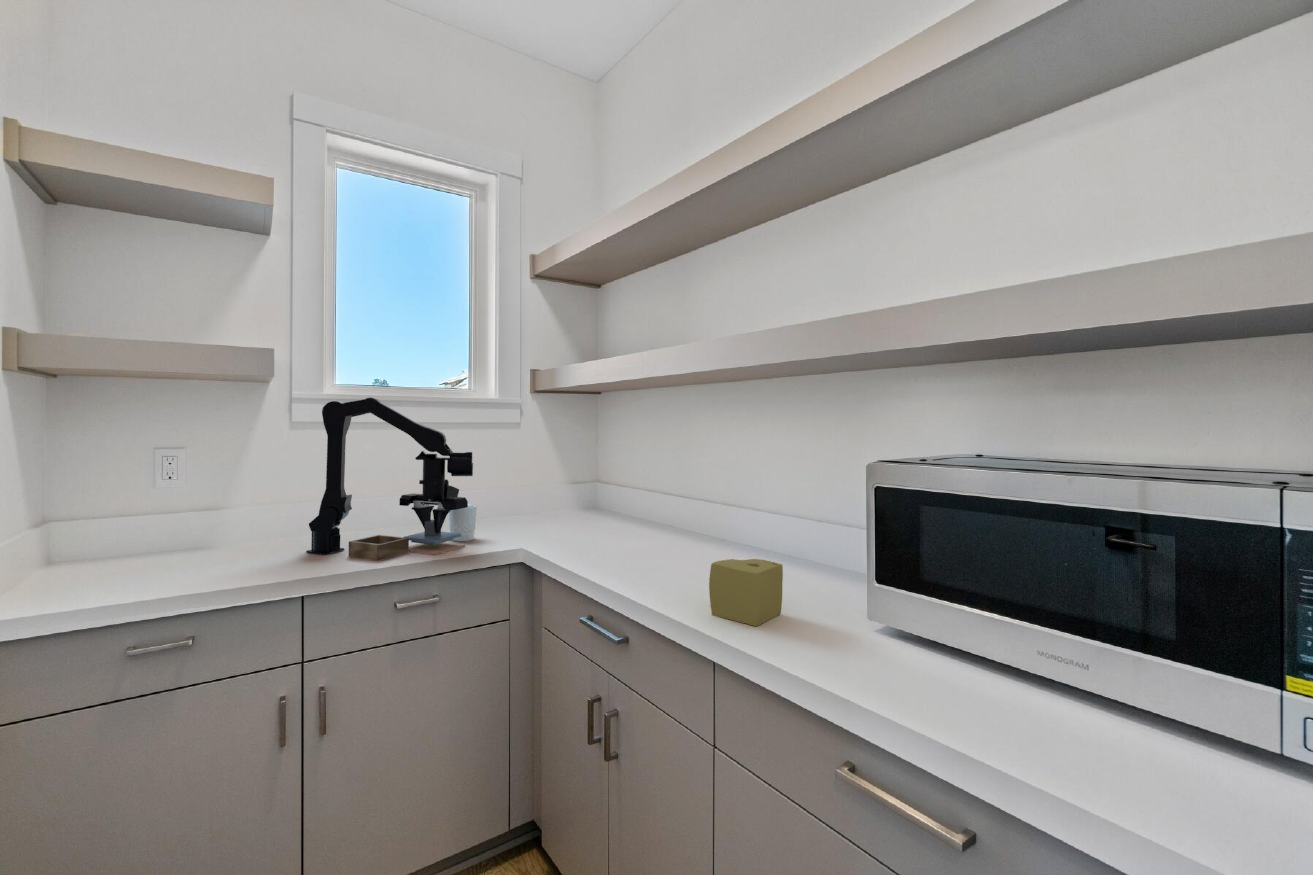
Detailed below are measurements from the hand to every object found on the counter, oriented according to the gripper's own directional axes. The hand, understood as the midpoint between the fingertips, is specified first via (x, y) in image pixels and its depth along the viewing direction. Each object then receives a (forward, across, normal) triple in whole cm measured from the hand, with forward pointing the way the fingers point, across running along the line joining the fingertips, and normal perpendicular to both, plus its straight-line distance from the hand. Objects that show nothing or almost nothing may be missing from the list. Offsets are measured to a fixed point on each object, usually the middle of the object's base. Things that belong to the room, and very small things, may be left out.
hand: (432, 532), depth 161 cm
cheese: (+5, -91, +22) cm, 94 cm away
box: (+4, +7, +12) cm, 15 cm away
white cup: (+5, +1, -14) cm, 15 cm away
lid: (+2, 0, 0) cm, 2 cm away
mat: (+4, 0, 0) cm, 4 cm away
